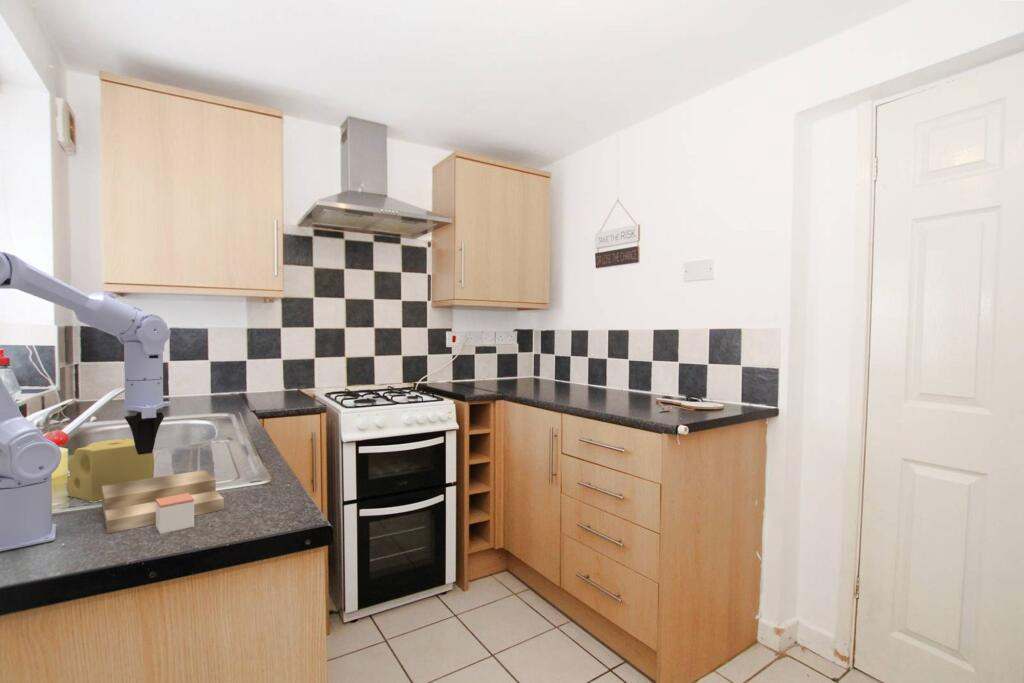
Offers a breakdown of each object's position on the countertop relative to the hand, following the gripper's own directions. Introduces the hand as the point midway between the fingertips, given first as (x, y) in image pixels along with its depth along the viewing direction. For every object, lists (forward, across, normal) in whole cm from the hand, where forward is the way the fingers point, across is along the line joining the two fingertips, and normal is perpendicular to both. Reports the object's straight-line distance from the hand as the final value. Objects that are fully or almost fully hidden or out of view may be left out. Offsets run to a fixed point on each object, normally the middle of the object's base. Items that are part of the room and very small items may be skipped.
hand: (144, 453), depth 91 cm
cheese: (+10, +14, +4) cm, 17 cm away
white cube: (+5, -17, -2) cm, 18 cm away
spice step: (+9, -5, -2) cm, 11 cm away
